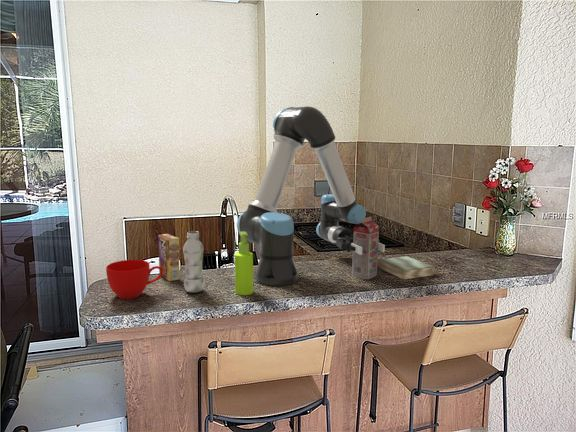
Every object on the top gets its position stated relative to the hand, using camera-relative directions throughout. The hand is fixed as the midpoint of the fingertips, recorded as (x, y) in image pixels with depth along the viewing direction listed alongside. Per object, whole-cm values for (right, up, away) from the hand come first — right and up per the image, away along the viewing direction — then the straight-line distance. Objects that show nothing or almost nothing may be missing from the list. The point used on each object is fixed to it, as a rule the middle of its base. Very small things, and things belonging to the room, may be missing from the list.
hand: (372, 249), depth 164 cm
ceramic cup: (-79, -13, -17) cm, 82 cm away
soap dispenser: (-45, -13, -13) cm, 49 cm away
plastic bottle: (-61, -13, -13) cm, 64 cm away
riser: (+15, -9, +12) cm, 21 cm away
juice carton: (-2, -10, +6) cm, 12 cm away
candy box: (-73, -10, +1) cm, 74 cm away
